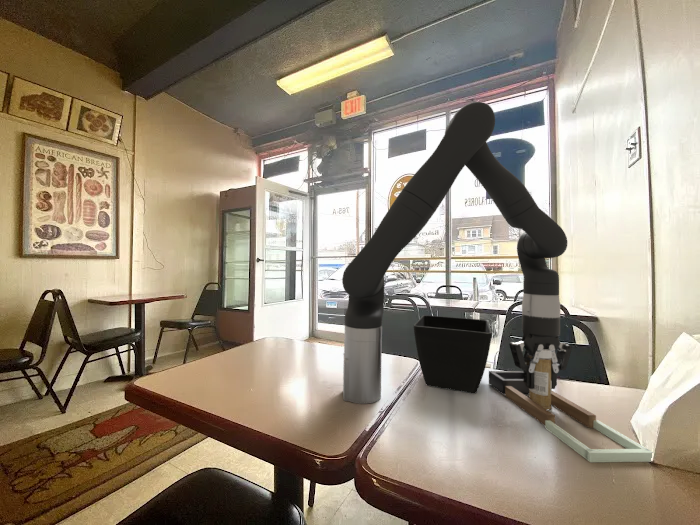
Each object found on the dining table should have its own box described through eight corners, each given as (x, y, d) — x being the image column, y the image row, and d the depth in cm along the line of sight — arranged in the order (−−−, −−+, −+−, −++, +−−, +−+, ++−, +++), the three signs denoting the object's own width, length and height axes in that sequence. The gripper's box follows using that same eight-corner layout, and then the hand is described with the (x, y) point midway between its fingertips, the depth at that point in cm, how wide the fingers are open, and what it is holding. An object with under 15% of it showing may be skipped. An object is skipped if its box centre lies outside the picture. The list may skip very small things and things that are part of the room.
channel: (547, 428, 59) (547, 415, 59) (505, 396, 74) (505, 385, 74) (595, 427, 60) (595, 415, 60) (543, 396, 75) (543, 386, 75)
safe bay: (590, 462, 49) (590, 453, 49) (545, 428, 59) (545, 420, 59) (654, 461, 49) (654, 452, 49) (598, 427, 60) (598, 420, 60)
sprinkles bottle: (555, 407, 68) (555, 348, 68) (546, 412, 65) (546, 351, 66) (533, 400, 72) (534, 344, 72) (524, 404, 69) (525, 346, 70)
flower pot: (491, 402, 70) (492, 331, 71) (411, 389, 77) (412, 324, 78) (487, 376, 88) (487, 319, 88) (422, 367, 95) (423, 315, 95)
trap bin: (502, 394, 75) (503, 380, 75) (488, 383, 82) (488, 371, 82) (541, 394, 76) (541, 380, 76) (523, 383, 83) (523, 371, 83)
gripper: (520, 315, 65) (520, 394, 65) (583, 316, 66) (583, 394, 65) (501, 311, 72) (501, 381, 72) (557, 311, 73) (557, 381, 73)
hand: (540, 387), depth 69 cm, fingers closed on sprinkles bottle, 4 cm apart
